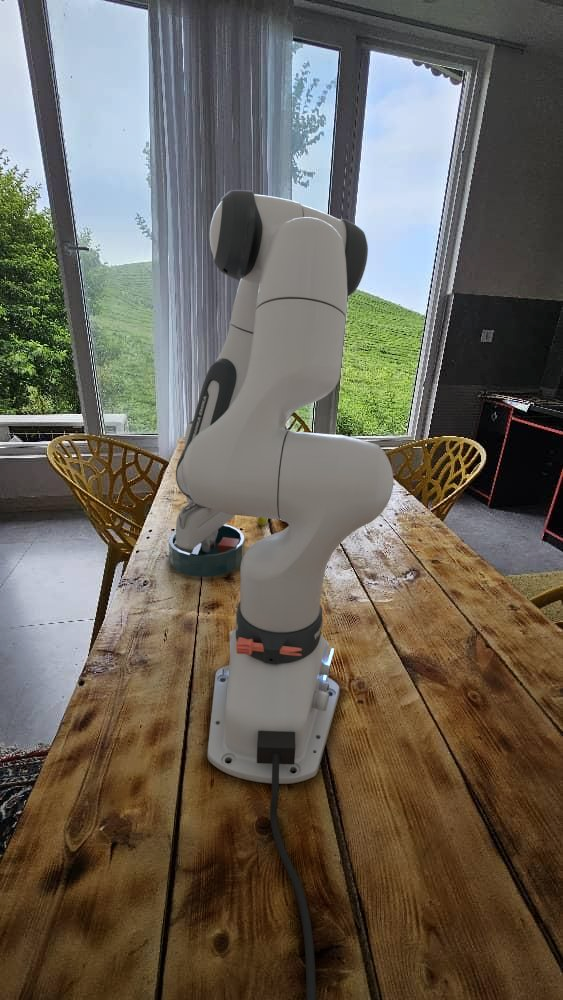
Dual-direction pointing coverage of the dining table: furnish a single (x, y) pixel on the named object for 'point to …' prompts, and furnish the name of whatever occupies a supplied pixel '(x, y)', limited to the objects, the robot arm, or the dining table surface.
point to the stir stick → (197, 549)
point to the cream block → (183, 548)
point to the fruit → (261, 521)
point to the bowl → (209, 556)
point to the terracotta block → (227, 544)
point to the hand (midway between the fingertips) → (208, 549)
